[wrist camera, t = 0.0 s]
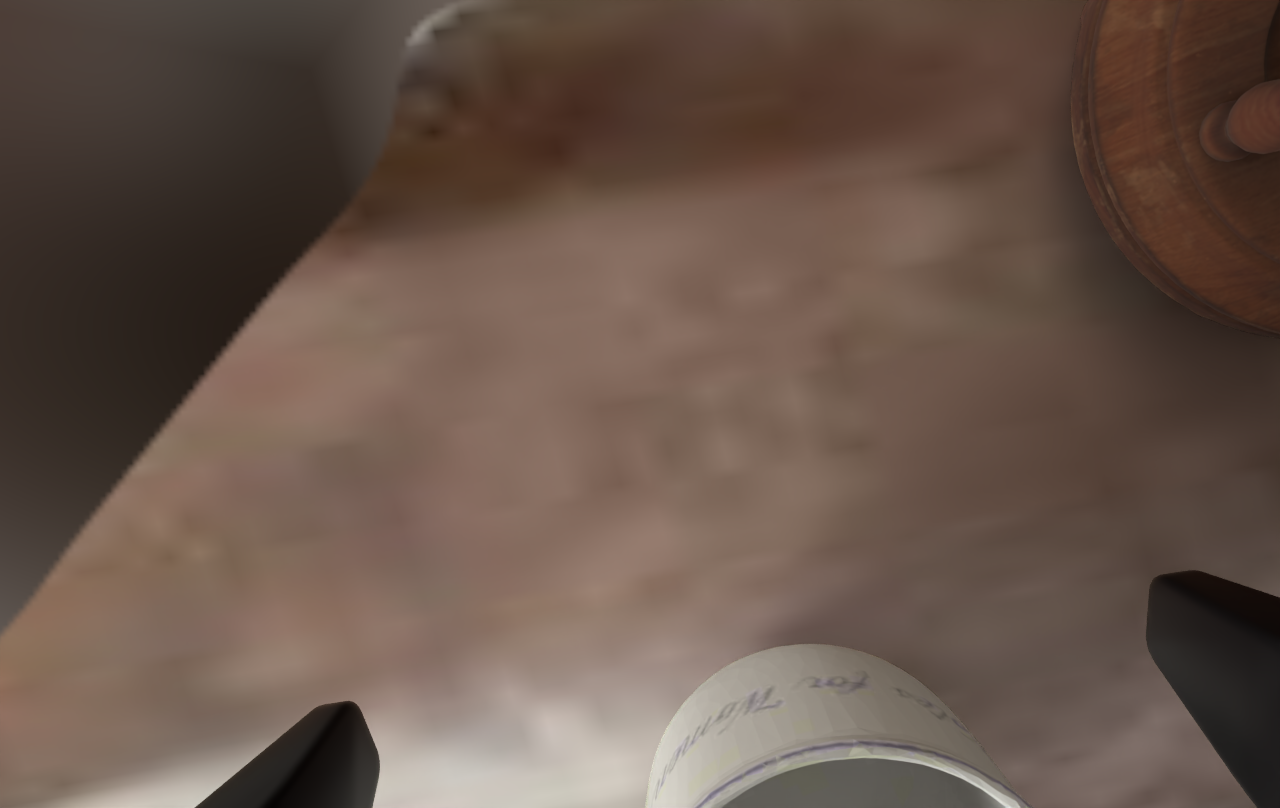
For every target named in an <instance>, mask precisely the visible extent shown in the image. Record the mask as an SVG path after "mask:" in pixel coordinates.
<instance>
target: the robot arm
mask: <svg viewBox="0 0 1280 808" xmlns="http://www.w3.org/2000/svg"><path fill="white" fill-rule="evenodd" d="M1146 641H1147V646H1148V649H1149V652H1150V654H1151V656H1152V658H1153V660H1154V662H1155V663H1156V665H1157V666H1158V668H1159V669H1160V671H1161V672H1162V673H1163V675H1164V676H1165V678H1166V679H1167V681H1168V682H1169V684H1170V685H1171V686H1172V688H1173V689H1174V691H1175V692H1176V694H1177V695H1178V697H1179V698H1180V699H1181V701H1182V702H1183V704H1184V705H1185V707H1186V708H1187V710H1188V711H1189V712H1190V714H1191V715H1192V717H1193V718H1194V720H1195V721H1196V723H1197V724H1198V726H1199V727H1200V728H1201V730H1202V731H1203V733H1204V734H1205V736H1206V737H1207V739H1208V740H1209V741H1210V743H1211V744H1212V746H1213V747H1214V749H1215V750H1216V752H1217V753H1218V754H1219V756H1220V757H1221V759H1222V760H1223V762H1224V763H1225V765H1226V766H1227V767H1228V769H1229V770H1230V772H1231V773H1232V775H1233V776H1234V777H1235V779H1236V780H1237V781H1238V783H1239V784H1240V785H1241V787H1242V788H1243V790H1244V791H1245V792H1246V794H1247V795H1248V796H1249V798H1250V799H1251V800H1252V801H1253V803H1254V804H1255V805H1256V806H1257V808H1280V598H1279V597H1276V596H1273V595H1270V594H1267V593H1264V592H1261V591H1258V590H1255V589H1252V588H1249V587H1246V586H1243V585H1240V584H1237V583H1234V582H1231V581H1228V580H1225V579H1222V578H1219V577H1216V576H1213V575H1210V574H1207V573H1204V572H1201V571H1196V570H1188V571H1182V572H1175V573H1169V574H1162V575H1159V576H1157V577H1155V578H1154V579H1153V580H1152V582H1151V584H1150V588H1149V599H1148V613H1147V627H1146ZM379 771H380V760H379V755H378V751H377V748H376V746H375V744H374V741H373V739H372V736H371V734H370V731H369V729H368V727H367V724H366V722H365V719H364V717H363V714H362V712H361V710H360V708H359V706H358V705H357V704H356V703H354V702H351V701H344V702H338V703H331V704H325V705H321V706H318V707H316V708H315V709H313V710H312V711H311V712H310V713H309V714H307V715H306V716H305V717H304V718H302V719H301V720H300V721H299V722H298V723H296V724H295V725H294V726H293V727H292V728H290V729H289V730H288V731H287V732H286V733H284V734H283V735H282V736H281V737H280V738H278V739H277V740H276V741H275V742H274V743H272V744H271V745H270V746H269V747H268V748H266V749H265V750H264V751H263V752H261V753H260V754H259V755H258V756H257V757H255V758H254V759H253V760H252V761H251V762H249V763H248V764H247V765H246V766H245V767H243V768H242V769H241V770H240V771H239V772H237V773H236V774H235V775H234V776H233V777H231V778H230V779H229V780H228V781H227V782H225V783H224V784H223V785H222V786H221V787H219V788H218V789H217V790H216V791H214V792H213V793H212V794H211V795H210V796H208V797H207V798H206V799H205V800H204V801H202V802H201V803H200V804H199V805H198V806H196V807H195V808H372V806H373V802H374V797H375V792H376V788H377V783H378V778H379Z"/></svg>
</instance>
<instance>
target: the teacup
mask: <svg viewBox="0 0 1280 808" xmlns="http://www.w3.org/2000/svg"><path fill="white" fill-rule="evenodd" d="M645 808H1033V807H1032V806H1031V805H1030V804H1029V803H1028V802H1027V801H1026V800H1024V799H1023V798H1022V797H1021V796H1020V795H1019V794H1018V793H1016V791H1015V790H1014V789H1013V787H1012V786H1011V784H1010V783H1009V782H1008V780H1007V779H1006V778H1005V776H1004V775H1003V774H1002V772H1001V771H1000V770H999V768H998V767H997V766H996V764H995V763H994V762H993V760H992V759H991V758H990V757H989V755H988V754H987V753H986V751H985V750H984V749H983V748H982V746H981V745H980V744H979V743H978V741H977V740H976V739H975V738H974V736H973V735H972V734H971V733H970V731H969V730H968V729H967V728H966V727H965V726H964V724H963V723H962V722H961V721H960V720H959V719H958V718H957V716H956V715H955V714H954V713H953V712H952V711H951V710H950V709H949V707H948V706H946V705H945V704H944V703H943V702H942V701H941V700H940V699H939V698H938V697H937V696H936V695H935V694H934V693H933V692H932V691H931V690H929V689H928V688H927V687H926V686H925V685H923V684H922V683H921V682H920V681H918V680H917V679H916V678H914V677H913V676H911V675H910V674H908V673H906V672H905V671H903V670H902V669H900V668H898V667H896V666H894V665H893V664H891V663H889V662H887V661H885V660H883V659H881V658H879V657H877V656H874V655H871V654H868V653H865V652H862V651H859V650H855V649H851V648H847V647H841V646H835V645H828V644H796V645H787V646H779V647H775V648H771V649H767V650H763V651H759V652H757V653H754V654H751V655H748V656H746V657H744V658H741V659H739V660H737V661H735V662H733V663H731V664H729V665H727V666H726V667H724V668H723V669H721V670H720V671H718V672H717V673H715V674H714V675H712V676H711V677H710V678H709V679H707V680H706V681H705V682H704V683H702V684H701V685H700V686H699V687H698V688H697V689H696V690H695V691H694V692H693V693H692V694H691V695H690V696H689V698H688V699H687V700H686V701H685V702H684V703H683V704H682V706H681V707H680V708H679V710H678V711H677V713H676V714H675V716H674V717H673V719H672V720H671V722H670V723H669V725H668V727H667V729H666V731H665V733H664V735H663V737H662V740H661V742H660V744H659V747H658V749H657V752H656V755H655V758H654V761H653V766H652V770H651V774H650V779H649V783H648V790H647V798H646V806H645Z"/></svg>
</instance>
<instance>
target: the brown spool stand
mask: <svg viewBox="0 0 1280 808" xmlns="http://www.w3.org/2000/svg"><path fill="white" fill-rule="evenodd" d="M1080 20H1081V24H1082V26H1081V29H1080V33H1079V37H1078V40H1077V46H1076V51H1075V57H1074V62H1073V71H1072V82H1071V121H1072V130H1073V139H1074V145H1075V150H1076V155H1077V159H1078V164H1079V168H1080V171H1081V174H1082V177H1083V180H1084V183H1085V187H1086V190H1087V192H1088V194H1089V197H1090V199H1091V201H1092V203H1093V206H1094V208H1095V210H1096V212H1097V214H1098V216H1099V218H1100V219H1101V221H1102V223H1103V225H1104V226H1105V228H1106V230H1107V232H1108V233H1109V235H1110V236H1111V238H1112V239H1113V240H1114V242H1115V243H1116V245H1117V246H1118V247H1119V249H1120V250H1121V251H1122V253H1123V254H1124V255H1125V256H1126V257H1127V259H1128V260H1129V261H1130V262H1131V263H1132V264H1133V265H1134V266H1135V267H1136V269H1137V270H1138V271H1139V272H1140V273H1141V274H1143V275H1144V276H1145V277H1146V278H1147V279H1148V280H1149V281H1150V282H1151V283H1153V284H1154V285H1155V286H1156V287H1157V288H1158V289H1160V290H1161V291H1163V292H1164V293H1165V294H1167V295H1168V296H1169V297H1171V298H1172V299H1174V300H1175V301H1176V302H1178V303H1180V304H1182V305H1183V306H1185V307H1187V308H1188V309H1189V310H1191V311H1193V312H1194V313H1196V314H1198V315H1199V316H1201V317H1205V318H1208V319H1211V320H1213V321H1215V322H1217V323H1219V324H1222V325H1226V326H1229V327H1232V328H1235V329H1238V330H1241V331H1244V332H1249V333H1253V334H1258V335H1262V336H1267V337H1274V338H1280V0H1088V1H1087V3H1086V4H1085V6H1084V9H1083V12H1082V14H1081V18H1080Z"/></svg>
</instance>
